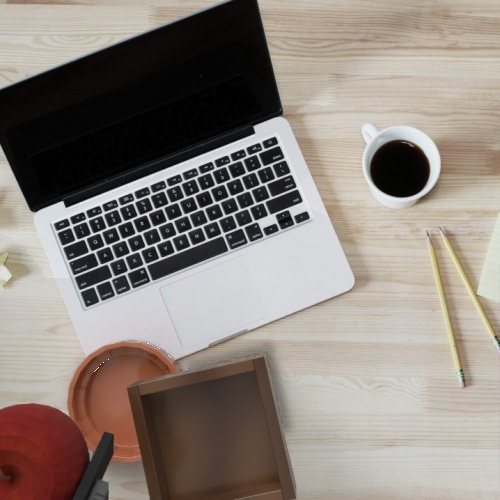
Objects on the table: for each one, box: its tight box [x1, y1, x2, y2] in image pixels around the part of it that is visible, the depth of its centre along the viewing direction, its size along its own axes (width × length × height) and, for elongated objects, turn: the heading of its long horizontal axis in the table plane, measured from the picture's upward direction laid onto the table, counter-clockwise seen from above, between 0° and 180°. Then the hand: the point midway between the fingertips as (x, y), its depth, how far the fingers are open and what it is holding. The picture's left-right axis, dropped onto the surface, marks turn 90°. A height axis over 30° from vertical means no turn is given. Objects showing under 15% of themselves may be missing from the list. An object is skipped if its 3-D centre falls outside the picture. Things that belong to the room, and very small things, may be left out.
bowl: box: [66, 340, 182, 464], centre depth 87 cm, size 14×14×3 cm
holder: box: [127, 353, 297, 500], centre depth 61 cm, size 12×12×4 cm
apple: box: [0, 402, 91, 500], centre depth 52 cm, size 10×10×10 cm
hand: (45, 423), depth 54 cm, fingers closed on apple, 9 cm apart
